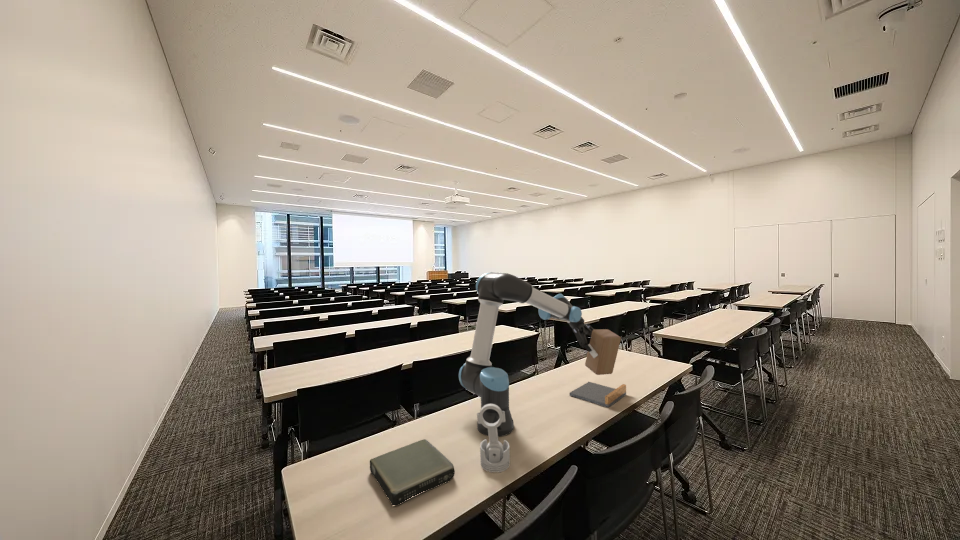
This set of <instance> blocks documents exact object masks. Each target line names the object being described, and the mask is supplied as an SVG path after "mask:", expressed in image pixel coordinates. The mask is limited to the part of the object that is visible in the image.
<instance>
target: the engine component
mask: <svg viewBox="0 0 960 540" xmlns="http://www.w3.org/2000/svg"><path fill="white" fill-rule="evenodd" d="M487 409H494V410H496V411H497V412H498V414H499V416H500V418H499V420H498V421H497V422H495V423H488V422H486V421H485V420H484V418H483V412H484V411H485V410H487ZM476 418H477V421H478V424H482V425H483V426H484V427H486V428H488V436H487V437H488V439H486V438H485V439H483V440H482V441H480V443H479V446H480V447H479V448H480V450H479V452H480V453H479V454H480V455H479V456H480V467H481V468H482V469H483V470H484V471H486V472H488V471H489V473H492V472H499V473H503V472H505V471H507V470H508V469H509V468H510V466H509V465H510V464H511V461H510V460H511V459H510V458H511V455H510V453H511V452H510V443H509V442H508V441H507V440H506V439H504V440H503V443H502V442H501V441H499V437H498V433H497V427H498V426H500V424H501V423H502V422H505V412H504V411H502V410H501V409H500V407H498V406H497V405H495V404H486V405H484V406H483V407H482V408H481V407H480V410H479V412H477V413H476ZM507 468H508V469H507ZM502 471H503V472H502Z"/></svg>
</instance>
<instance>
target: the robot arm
mask: <svg viewBox="0 0 960 540" xmlns="http://www.w3.org/2000/svg"><path fill="white" fill-rule="evenodd" d="M475 283H476V284H475V291H476V293H477V294H478V297H477V300H478V303H480V304H479V309H478V310H479V311H478V315H477V320H476V325H475V331H474V337H473V341H472V347H471V352H470V355H469V356H468V357H467V358H466V361H465V363H463V365H462V366H461V367H460V368H459V371H458V380H459V383H460V385H461V386H462V387H463V388H465V390H466V391H468V392H471V393H473V395H476V396H478V397H479V398H480V409H481V408H482V407H483V406H484V405H486V404H495V405H497V406H498V407H500V409H501V410H502V411H504V412H505V422H502V423H501V424H500V426H498V427H497V433H498V438H499V437H504V436H507V435H509V434H511V433H512V432H513V431H514V428H515V424H514V419H513V417H512V414H511V411H510V380H509V375H508V372H506V371H505V370H504V369H502V368H499V367H494V366H493V365H492V364H493V363H492V362H491V361H490V357H491V352H492V347H493V341H494V335H495V329H496V324H497V320H498V314H499V308H500V307H502V306H503V304H504V300H505V301H512V302H517V303H520V304H525V303H526V304H527V305H530V306H533V307H535V308H537V309H538V315H539V317H540V319H542V320H544V321H546V320H550V319H556V320H559V321H566V322H567V324H568V325H569V327H570V328H571V329H572V333H574V335H575V337H576V340H577V342H578V343H579V346H580V347H581V348H582V349H584V348H585V349H586V350H587V353H588V352H589V353H590V354H591V355H592V356H593V358H595V357H597V356H598V354H597V352H596V351H595V350H594V349H593V348H592V346H591V345H590V343H588V339H587V336H589V337H591V335H592V331H593V330H596V328H594V327H592V325H590V323H587V324H585V318H583V317H582V315H583V312H582V309H581V308H580V307H578V306H575V305H572V304H571V303H570V301H569V300H568V298H566V297H565V296H564V295H563V294H562V293H558V294H556V295H555V296H551V295H549V294H547V293H545V292H544V291H541V290H539V289H537V288H535V287H533V285H532V284H531V283H530V282H528V281H526V280H524V279H522V278H520V277H518V276H517V275H516V276H515V275H513V274H510V273H507V272H506V273H505V272H503V273H502V272H492V271H491V272H485V273H482V275H480V276H479V277H478V278H477V280H476V282H475ZM483 418H484V420H485V421H486V422H488V423H495V422H497V421H498V420H499V418H500V416H499V414H498V412H497V411H496V410H494V409H487V410H485V411H484V412H483ZM476 425H477V426H476V427H477V428H476V429H477V430H478V432H479V433H481V434H482V435H484V436H487V437H489V436H488V428H486V427H484V426H483V425H482V424H478V420H477V422H476Z"/></svg>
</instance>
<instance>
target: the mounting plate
mask: <svg viewBox="0 0 960 540" xmlns="http://www.w3.org/2000/svg"><path fill="white" fill-rule="evenodd" d="M568 394H569V396H570V397H572V398H575V399H578V400H581V401H586V402H588V403H592V404H595V405H598V406H601V407H603V408H607V409H608V408H610V407H612V406H613V405H614V404H616V403H617V402H618V401H620V400H621V399H622V398H624V397H625V396H627V384H624V383H622V384H621V385H619V386H618V387H617V388H614V387H611V386H606V385H602V384H599V383H595V382H591V381H588V382H586V383H584V384H583V385H581V386H579V387H576V388H575V389H574V390H572V391H570V392H569V393H568Z"/></svg>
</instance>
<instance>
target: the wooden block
mask: <svg viewBox="0 0 960 540" xmlns="http://www.w3.org/2000/svg"><path fill="white" fill-rule="evenodd" d="M621 341H622V337H621V336H619V335H618V334H617V333H615V332H613V331H611V330H610V329H608V328H607V329H606V328H605V329H604V328H603V329H601V328H600V329H598V328H597V329H596V328H595V330H593V331H592V335H591V336H590V340H589V344H590V345H591V346H592V348H593V349H594V350H595V351H596V352H597V354H598V356H597V357H595V358H593V356H592V355H591V354H590V353H589V352H588V351H587V353H586V357H585V362H584V365H585V367H586V368H588V369H589V370H590V371H591V372H593V373H594V374H595V375H597V376H602V375H612V374H613V372H614V368H615V365H616V360H617V356H618V353H619V348H620V343H621Z"/></svg>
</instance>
